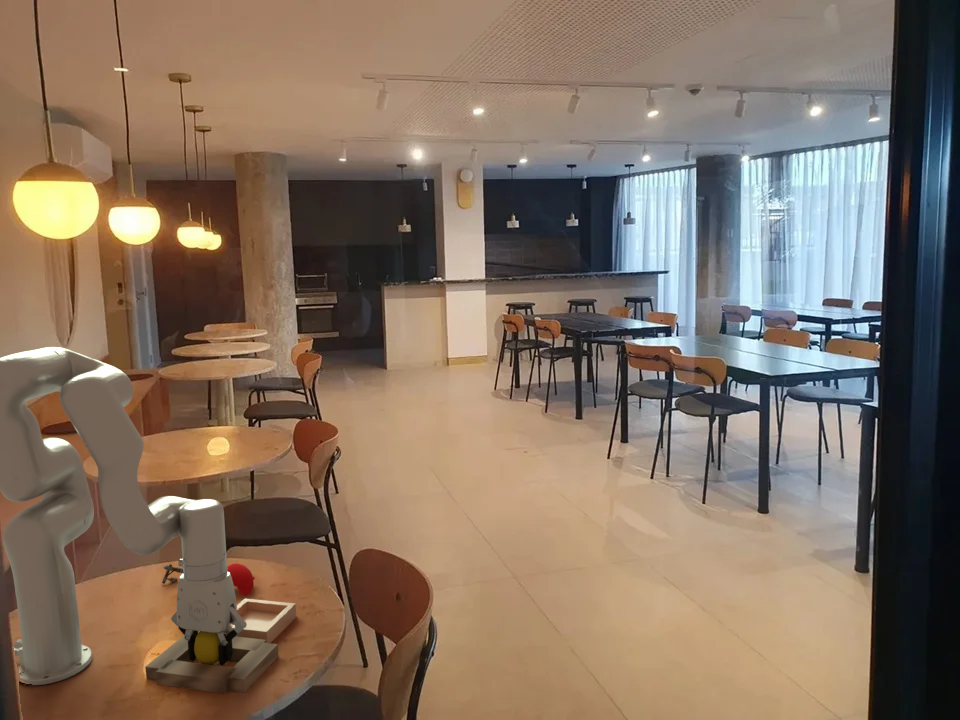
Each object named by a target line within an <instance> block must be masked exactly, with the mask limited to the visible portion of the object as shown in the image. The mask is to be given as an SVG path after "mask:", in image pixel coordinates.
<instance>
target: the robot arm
mask: <svg viewBox="0 0 960 720" xmlns="http://www.w3.org/2000/svg"><path fill="white" fill-rule="evenodd" d="M134 390H135V389H134V386H133V383H132V380H131V379H130V377H129V376H128V375H127V374H126V373H125V372H123V371H122V370H121V369H119V368H117V367H115V366H114V365H111V364H108V363H105V362H102V361H100V360H99V359H95V358H92V357H89V356H87V355H83V354H81V353H78V352H75V351H73V350H70V349H67V348H64V347H58V346H48V347H47V346H45V347H41V348H37V349H31V350H25V351H19V352H16V353H11V354H8V355H4V356H2V357H1V356H0V493H1V495H2V496H3V497H4V498H5V499H7V500H8V501H10V502H14V503H24V502H28V501H31V500H34V499H36V498H38V497H41V501H37V502H36V503H33V504H32V505H30V506H29V507H27V508H25V509H23V510H21V511H20V512H18V513H17V514H16V515H14V516H13V517H12V518H11V519H10V520H9V521H8V523H7V524H6V526H5V528H4V530H3V534H2V541H3V542H2V544H3V547H4V551H5V553H6V556H7V559H8V562H9V564H10V568H11V571H12V572H11V573H12V578H13V584H14V591H15V598H16V605H17V606H16V607H17V614H18V622H19V623H18V624H19V631H20V638H19V639H17V640H16V641H14V644H13V645H14V646H13V648H14V651H15V656H14V657H19V658H18V659H19V664H18V665H17V666H18V667H19V673H20V674H21V669H20V666H21V668H22V673H24V674H22V676H21V675H20V679H21V680H23V681H24V682H25V683H29V684H32V685H31V686H43V685H50V684H53V683H57V682H60V681H63V680H66V679H68V678H71V677H72V676H74V675H77V674H78V673H80V672H81V671H83V670H85V668H86V667H88V665H89V664H90V663H91V662H92V661H93V652H92V649H91V648H90V647H89V646H87V645H84V644H82V637H81V626H80V617H79V607H78V600H77V589H76V588H77V587H76V579H75V573H74V572H75V571H74V569H73V566H72V563H71V562H70V560H69V557H68V556H67V555H66V553H65V547H66V546H67V545H69V544H70V543H71V542H73V541H74V540H75V539H77V538H79V537H80V536H81V535H83V534H85V532H87V530H88V529H89V528H90V527H91V525H92V524H93V522H94V516H95V515H94V514H95V511H94V510H95V509H94V503H93V499H92V495H91V490H90V487H89V483H88V479H87V476H86V471H85V467H84V464H83V461H82V458H81V456H80V453H79V452H78V450H77V449H76V447H74V446H73V444H71V443H70V442H69V441H67V440H65V439H63V438H60V437H45V438H43V436H42V432H41V427H40V424H39V421H38V419H37V417H36V416H35V414H34V413H33V411H32V410H31V409H30V408H29V407H28V406H27V405H26V402H28V401H30V400H31V399H35V398H39V397H42V396H45V395H48V394H49V395H50V394H53V393H55V392H57V393H59V396H58V397H59V403H60V405H61V407H62V410H63V411H64V413H65V415H66V416H67V418H68V419H69V421H70V422H71V425H72V426H73V428H74V429H75V431H76V433H77V434H78V437H80V439H81V441H82V442H83V444H84V446H85V447H86V449H87V451H88V452H89V454H90V456H91V458H92V459H93V461H94V463H95V464H96V467H97V483H98V484H97V485H98V491H99V498H100V503H101V507H102V508H101V509H102V512H103V513H104V516H105V518H106V520H107V521H108V523H109V524H110V526H111V528H112V529H113V530H114V531H113V532H114V533H115V534H116V535H117V538H118V539H119V540H120V542H121V543H122V544H123V545H124V547H126V548H127V549H128V550H129V551H131V552H133V553H134V554H137V555H143V556H147V555H151V554H154V553H156V552H158V551H159V550H161V549H162V548H163V547H165V546H166V545H167V544H168V543H169V542H170V541H172V540H173V539H176V538H177V537H179V536H180V540H181V541H180V542H181V554H182V556H181V557H182V558H179V559H178V562H177V565H178V566H179V567H181V568H183V573H181V575H180V576H179V579H178V583H177V592H176V611H175V613H174V614H173V615H172V616H171V618H170V620H171V621H172V622H173V624H174V625H175V626H177V627H178V630H179V631H180V632H181V633H182V634H183V636H184V635H185V636H184V638H185V640H187V641H188V652H189V660H190V661H189V662H195V660H197V658H196V655H195V651H194V644H195V639H196V636H197V635H198V633H199V632H200V631H202V632H210V633H217V634H218V636H219V639H220V642H221V644H220V645H219V646H218V649H219V662H218V663H219V666H225V665H226V663H228V662H229V661H231V660H230V659H231V658H232V655H233V649H232V639H233V638H234V637H235V636H236V635H237V634H238V633H240V632H241V631H242V630H243V629H244V628H245V627H246V626H247V624H246V622H245V621H244V620H243V619H242V617H241V616H240V615H239V614H238V613H237V605H238V604H237V597H236V591H235V586H234V585H233V581H232V578H231V574H230V572H227V567H228V562H227V544H226V528H225V527H226V526H225V511H224V506H223V504H222V503H221V502H220V501H218V500H216V499H213V498H202V499H190V498H184V497H180V496H175V495H165V496H160V497H158V498H156V499H155V500H154V501H152V502H151V503H149V504H148V503H147V502H146V500H145V499H144V497H143V494H142V492H141V490H140V486H139V480H138V473H139V472H138V470H139V465H140V463H141V459H142V456H143V452H144V449H145V448H144V447H145V442H144V439H143V438H142V436H141V434H140V432H139V431H138V429H137V428H136V426H135V425H134V423H133V421H132V419H131V418H130V416H129V414H128V413H127V411H126V409H125V407H126V406H128V405H129V404H130V402H131V401H132V400H133V396H134ZM231 623H233V624H234V625H235V628H234V629H232V626H231ZM225 631H226V634H227V635H226V634H225Z"/></svg>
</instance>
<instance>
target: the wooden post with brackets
mask: <svg viewBox="0 0 960 720" xmlns="http://www.w3.org/2000/svg"><path fill="white" fill-rule="evenodd" d="M163 569H164V570H166V571H165V574H164V576H163V578H162V581H161V583H162V584H163V585H164V584H165V583H166V582H167V581H169V582H170V583H176V582H178V581H179V579H178V578H177V577H173V576H171V577H169V576H170V575H171V574H172V573H174V572H176V573H179V574H183V567H178V566H177V567H174V566H173V565H172V564H171V563H169V565H168V564H166V565H164V566H163ZM177 580H178V581H177Z"/></svg>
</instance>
